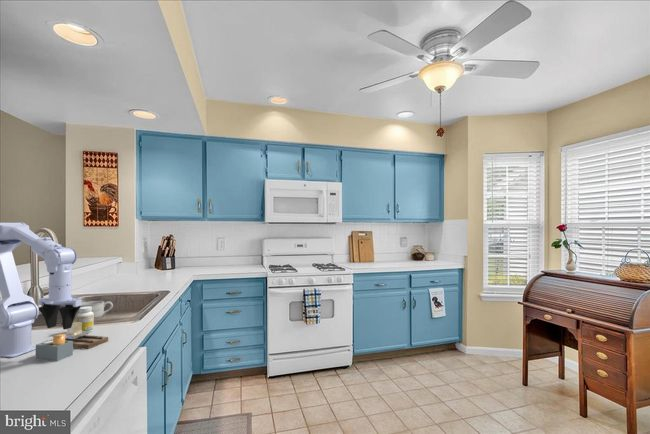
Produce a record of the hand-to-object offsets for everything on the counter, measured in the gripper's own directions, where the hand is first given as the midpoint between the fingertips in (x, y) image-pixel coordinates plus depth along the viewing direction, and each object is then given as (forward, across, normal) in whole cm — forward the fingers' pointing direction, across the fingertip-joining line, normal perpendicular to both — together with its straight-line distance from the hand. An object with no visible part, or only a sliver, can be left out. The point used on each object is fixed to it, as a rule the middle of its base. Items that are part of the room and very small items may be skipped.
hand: (59, 327), depth 103 cm
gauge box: (+9, -2, 0) cm, 10 cm away
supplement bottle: (+10, -15, +22) cm, 29 cm away
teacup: (+10, -26, +36) cm, 46 cm away
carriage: (+7, -7, +12) cm, 15 cm away
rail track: (+9, -4, +12) cm, 15 cm away
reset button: (+7, 0, 0) cm, 7 cm away
